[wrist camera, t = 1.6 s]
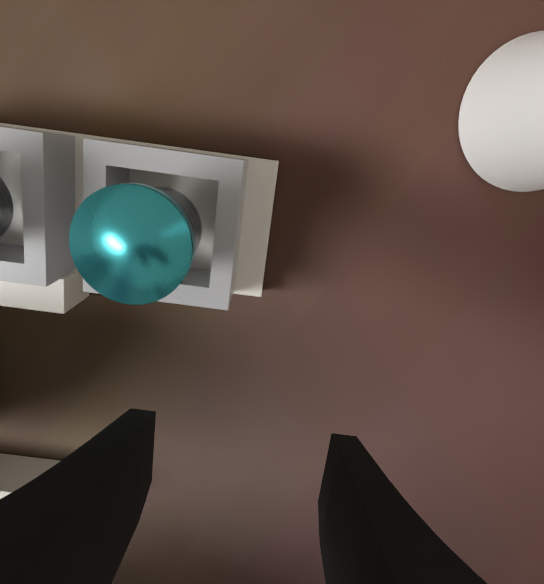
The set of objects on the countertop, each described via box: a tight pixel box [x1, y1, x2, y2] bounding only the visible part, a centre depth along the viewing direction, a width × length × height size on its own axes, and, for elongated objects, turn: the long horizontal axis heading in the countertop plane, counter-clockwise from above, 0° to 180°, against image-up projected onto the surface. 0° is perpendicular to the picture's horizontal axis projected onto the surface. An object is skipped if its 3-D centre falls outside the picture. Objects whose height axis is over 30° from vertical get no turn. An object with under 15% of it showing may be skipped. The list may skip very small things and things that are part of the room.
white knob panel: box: [0, 123, 279, 499], centre depth 19 cm, size 18×21×4 cm
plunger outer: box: [69, 183, 202, 305], centre depth 15 cm, size 4×4×4 cm
